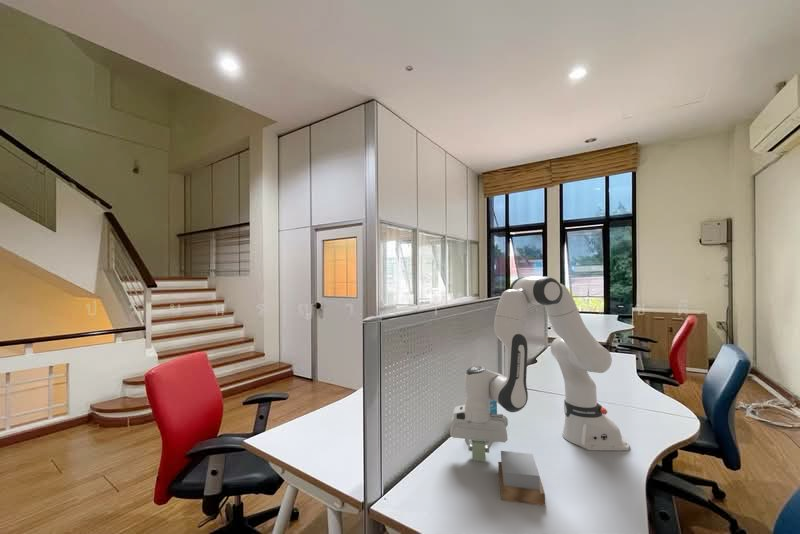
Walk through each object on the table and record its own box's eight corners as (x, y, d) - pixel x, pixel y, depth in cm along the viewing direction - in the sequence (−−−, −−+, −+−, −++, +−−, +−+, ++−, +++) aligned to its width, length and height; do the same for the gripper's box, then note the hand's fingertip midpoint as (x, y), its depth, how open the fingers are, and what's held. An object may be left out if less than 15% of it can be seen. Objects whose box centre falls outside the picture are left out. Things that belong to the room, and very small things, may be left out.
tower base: (536, 477, 106) (536, 465, 106) (545, 508, 92) (544, 493, 93) (498, 473, 109) (498, 461, 109) (501, 502, 95) (501, 488, 95)
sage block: (485, 454, 119) (484, 438, 119) (485, 461, 115) (484, 444, 115) (472, 453, 120) (472, 437, 120) (472, 460, 116) (472, 443, 116)
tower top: (533, 466, 106) (532, 453, 106) (539, 489, 94) (539, 476, 94) (501, 462, 108) (500, 450, 108) (503, 485, 97) (503, 472, 97)
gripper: (506, 411, 118) (508, 449, 118) (450, 407, 123) (451, 443, 123) (508, 418, 112) (509, 459, 112) (449, 414, 117) (450, 452, 117)
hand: (478, 451), depth 118 cm, fingers closed on sage block, 4 cm apart
